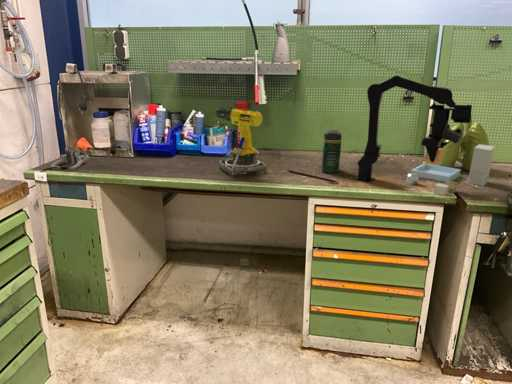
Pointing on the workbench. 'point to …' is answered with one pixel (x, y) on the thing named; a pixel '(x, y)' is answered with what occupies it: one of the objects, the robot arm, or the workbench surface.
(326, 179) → the crowbar
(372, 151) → the robot arm
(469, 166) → the lungs
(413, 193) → the workbench surface
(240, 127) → the cordless drill
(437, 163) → the orange block
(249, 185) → the workbench surface
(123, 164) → the workbench surface
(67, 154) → the bike brake
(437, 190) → the offwhite block
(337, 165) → the coffee jar
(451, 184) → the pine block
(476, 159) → the skincare box
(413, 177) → the grey metal puck
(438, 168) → the parts tray
